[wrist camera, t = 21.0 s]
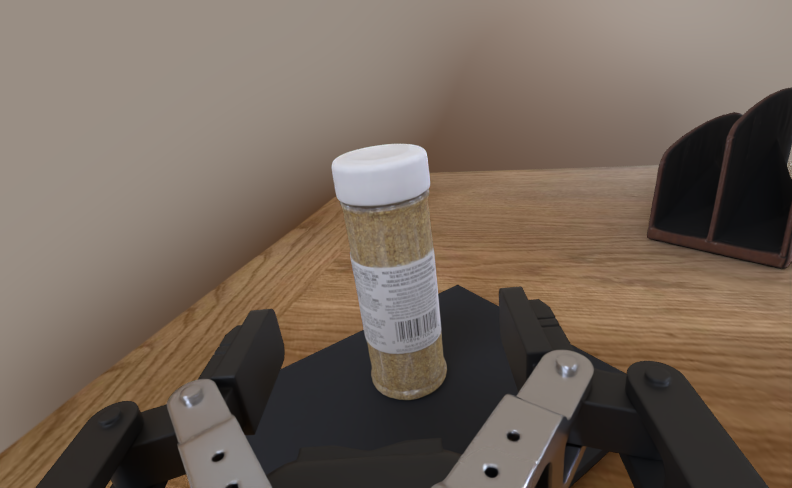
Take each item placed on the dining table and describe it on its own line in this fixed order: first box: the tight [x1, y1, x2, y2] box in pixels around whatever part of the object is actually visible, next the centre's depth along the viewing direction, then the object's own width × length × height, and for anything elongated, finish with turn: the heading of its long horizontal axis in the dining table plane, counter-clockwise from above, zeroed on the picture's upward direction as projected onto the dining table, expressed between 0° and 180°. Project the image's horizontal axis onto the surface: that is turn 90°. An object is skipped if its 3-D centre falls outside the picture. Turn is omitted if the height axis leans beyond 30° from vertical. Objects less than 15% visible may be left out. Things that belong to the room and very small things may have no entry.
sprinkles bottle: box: [332, 144, 447, 400], centre depth 23 cm, size 5×4×13 cm
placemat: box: [245, 285, 626, 488], centre depth 24 cm, size 20×16×1 cm
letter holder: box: [647, 88, 792, 269], centre depth 38 cm, size 10×20×14 cm, turn 129°
